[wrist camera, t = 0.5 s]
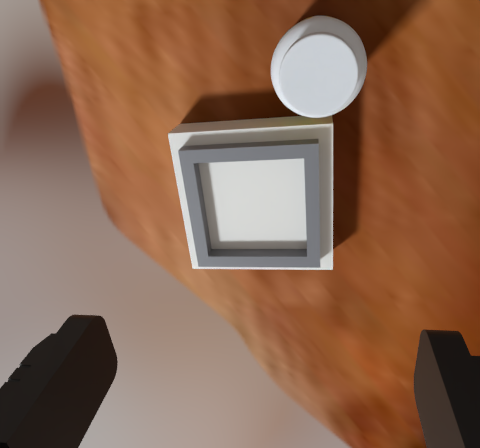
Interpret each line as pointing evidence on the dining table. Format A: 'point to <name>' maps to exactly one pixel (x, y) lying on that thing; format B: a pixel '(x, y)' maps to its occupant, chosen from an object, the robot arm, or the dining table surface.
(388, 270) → the dining table surface
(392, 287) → the dining table surface
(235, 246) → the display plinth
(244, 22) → the dining table surface
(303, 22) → the supplement bottle
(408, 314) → the dining table surface
